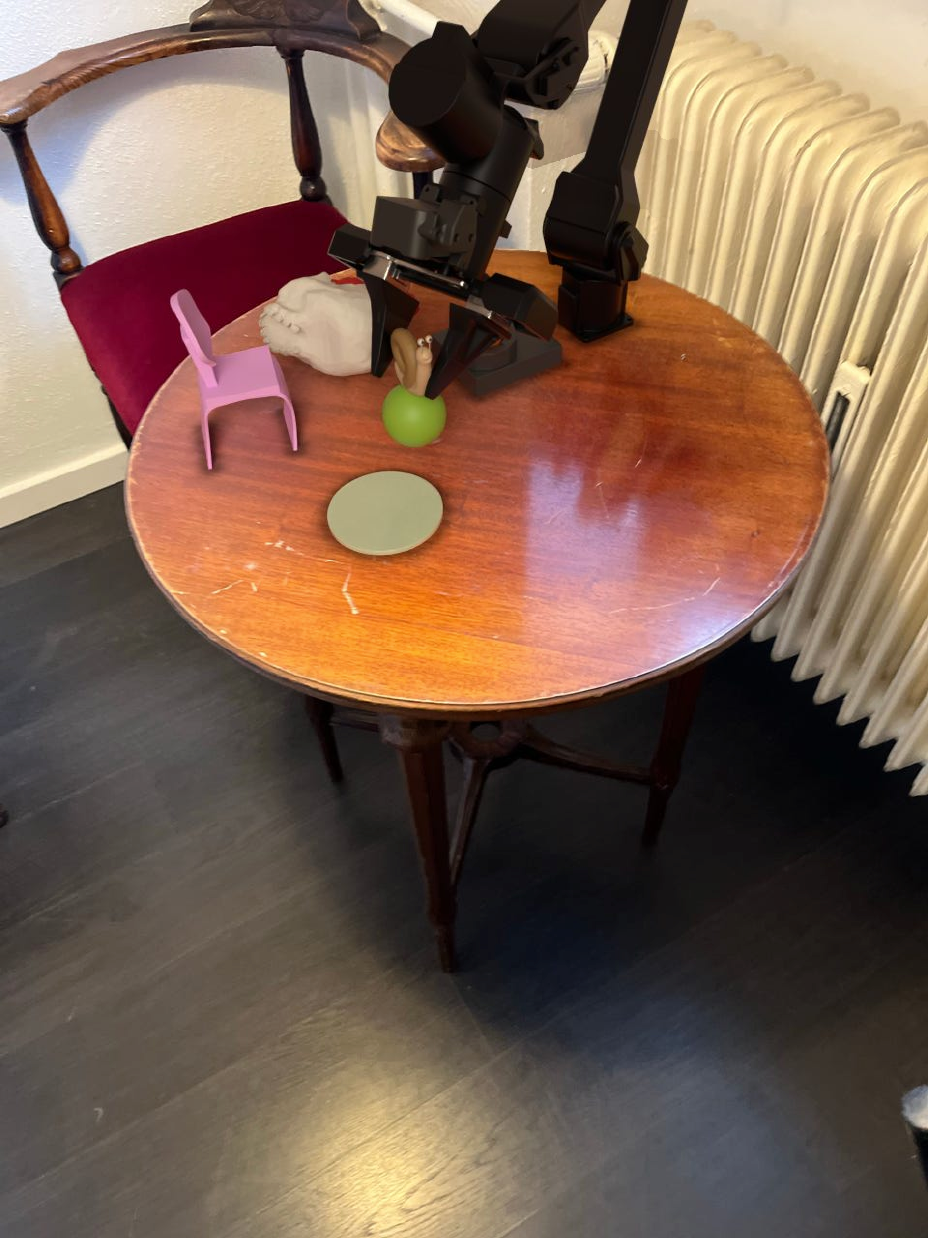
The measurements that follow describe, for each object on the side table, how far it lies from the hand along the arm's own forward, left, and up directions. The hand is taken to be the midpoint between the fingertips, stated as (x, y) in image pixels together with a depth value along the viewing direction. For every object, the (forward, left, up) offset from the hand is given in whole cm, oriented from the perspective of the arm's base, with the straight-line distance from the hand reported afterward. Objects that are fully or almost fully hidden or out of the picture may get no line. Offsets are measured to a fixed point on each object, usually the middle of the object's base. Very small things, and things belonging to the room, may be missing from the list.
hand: (401, 387), depth 71 cm
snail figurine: (-1, -1, -7) cm, 7 cm away
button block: (-16, -12, -11) cm, 23 cm away
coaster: (+4, +2, -11) cm, 11 cm away
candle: (-4, -20, -11) cm, 24 cm away
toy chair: (+10, -14, -11) cm, 20 cm away
